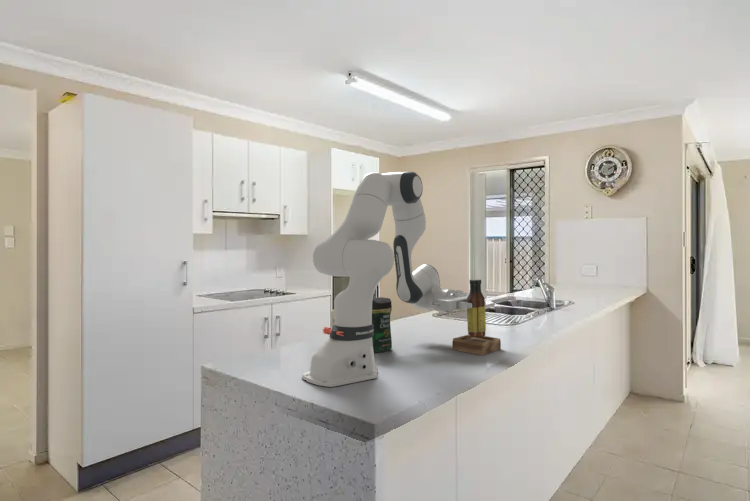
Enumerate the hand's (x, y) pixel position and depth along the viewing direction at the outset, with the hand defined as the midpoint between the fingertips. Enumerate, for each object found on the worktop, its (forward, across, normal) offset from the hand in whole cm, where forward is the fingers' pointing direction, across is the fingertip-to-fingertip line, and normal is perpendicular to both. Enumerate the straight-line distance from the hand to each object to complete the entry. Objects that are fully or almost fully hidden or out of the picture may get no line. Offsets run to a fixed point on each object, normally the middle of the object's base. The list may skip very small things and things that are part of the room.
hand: (478, 304), depth 162 cm
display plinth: (-1, 0, +16) cm, 16 cm away
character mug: (-41, -29, +16) cm, 53 cm away
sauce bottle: (-1, 0, +11) cm, 11 cm away
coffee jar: (-25, -25, +16) cm, 39 cm away
